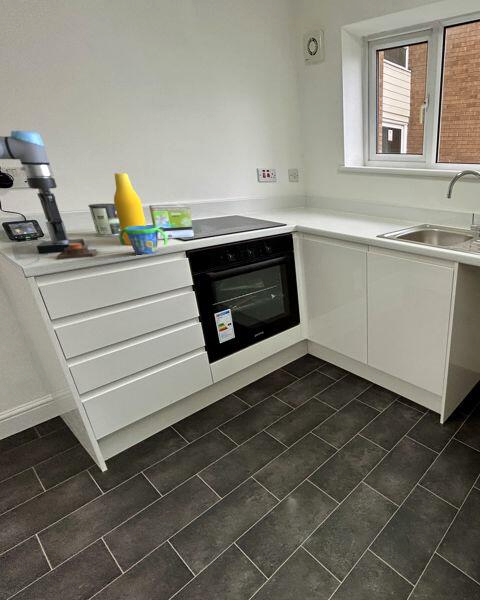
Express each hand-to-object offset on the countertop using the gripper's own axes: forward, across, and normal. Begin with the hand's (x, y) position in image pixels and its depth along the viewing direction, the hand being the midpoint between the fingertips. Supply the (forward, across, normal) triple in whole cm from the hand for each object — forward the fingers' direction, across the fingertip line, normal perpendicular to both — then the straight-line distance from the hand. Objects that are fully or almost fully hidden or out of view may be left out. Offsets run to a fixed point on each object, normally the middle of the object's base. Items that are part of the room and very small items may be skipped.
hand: (60, 239), depth 138 cm
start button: (+2, +15, +1) cm, 15 cm away
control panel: (+4, 0, 0) cm, 4 cm away
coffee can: (+4, -23, +22) cm, 32 cm away
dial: (+1, 0, 0) cm, 1 cm away
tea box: (+4, +2, +40) cm, 41 cm away
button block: (+4, +15, +1) cm, 15 cm away
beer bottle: (+4, +6, +24) cm, 25 cm away
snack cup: (+4, +28, +20) cm, 34 cm away
